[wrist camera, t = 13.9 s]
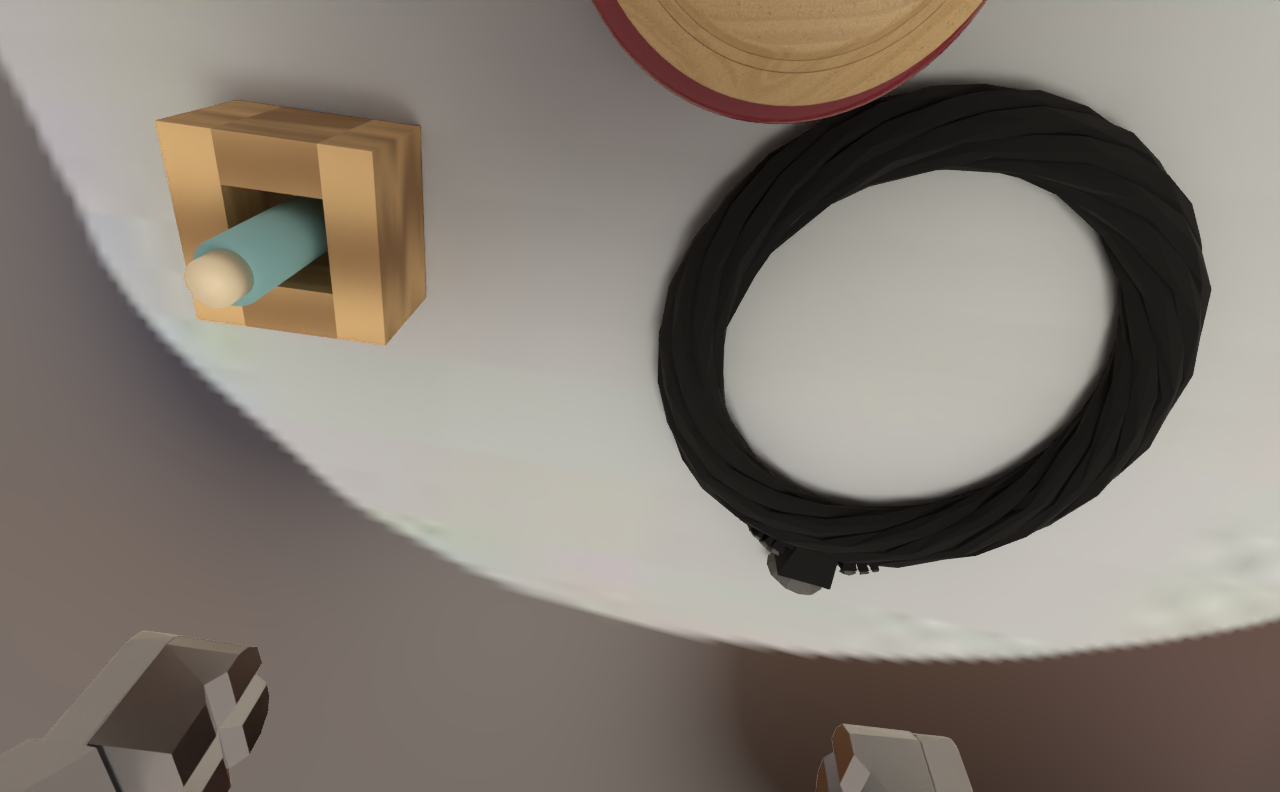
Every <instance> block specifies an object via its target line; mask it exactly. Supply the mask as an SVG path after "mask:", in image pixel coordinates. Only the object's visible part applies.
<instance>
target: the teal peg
mask: <svg viewBox="0 0 1280 792" xmlns="http://www.w3.org/2000/svg"><path fill="white" fill-rule="evenodd" d="M327 251H328V245H327V236H326V226H325V217H324V207H323V199H318V198H311V197H304V196H297V195H296V196H294V197H292V198H290V199H288V200H286V201H284V202H282V203H280V204H278V205H276V206H274V207H272V208H270V209H268V210H266V211H264V212H262V213H260V214H258V215H256V216H254V217H252V218H250V219H248V220H246V221H244V222H242V223H240V224H238V225H236V226H234V227H232V228H230V229H228V230H226V231H224V232H222V233H220V234H218V235H216V236H214V237H212V238H210V239H208V240H207V241H205V242H203V243H201V244H200V245H199V246H198V247H197V249H196V250H195V252H194V255H193V261H191V262H190V263H189V264H188V265H187V266H186V268H185V271H184V281H185V284H186V287H187V288H188V290H189V292H190V293H191V294H192V296H193V297H194V298H195V299H197V300H198V301H199V302H201V303H202V304H204V305H206V306H208V307H212V308H218V309H219V308H226V307H228V306H230V305H232V306H246V305H250V304H252V303H254V302H255V301H257V300H258V299H260V298H261V297H262V296H264V295H265V294H267V293H268V292H270V291H271V290H272V289H274V288H275V287H277V286H278V285H280V284H281V283H282V282H284V281H285V280H287V279H288V278H290V277H291V276H292V275H294V274H295V273H297V272H298V271H299V270H301V269H302V268H304V267H305V266H307V265H308V264H309V263H311V262H312V261H314V260H315V259H317V258H318V257H319V256H321V255H322V254H324V253H325V252H327Z"/></svg>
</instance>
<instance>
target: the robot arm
mask: <svg viewBox="0 0 1280 792" xmlns="http://www.w3.org/2000/svg"><path fill="white" fill-rule="evenodd" d="M261 664H262V661H261V657H260V654H259V651H258V648H257V647H252V646H246V645H239V644H233V643H226V642H219V641H213V640H206V639H199V638H192V637H186V636H182V635H174V634H167V633H160V632H152V631H144V630H143V631H141V632H140V633H138V634H136V635H135V636H133V637H132V638H130V639H129V640H127V641H126V643H125V644H124V645H123V646H122V647H121V648H120V650H119V651H118V652H117V653H116V654H115V655H114V656H113V658H112V659H111V660H110V661H109V662H108V663H107V665H106V666H105V667H104V668H103V669H102V670H101V672H100V673H99V674H98V675H97V676H96V677H95V678H94V680H93V681H92V682H91V683H90V684H89V685H88V686H87V688H86V689H85V690H84V691H83V692H82V693H81V695H80V696H79V697H78V698H77V699H76V700H75V701H74V703H73V704H72V705H71V706H70V707H69V708H68V710H67V711H66V712H65V713H64V714H63V715H62V716H61V718H60V719H59V720H58V721H57V722H56V723H55V725H54V726H53V727H52V728H51V729H50V730H49V732H48V733H47V734H46V735H45V736H44V737H43V738H42V739H31V738H29V739H28V740H26V741H24V742H22V743H21V744H19V745H17V746H15V747H13V748H12V749H10V750H8V751H6V752H4V753H3V754H1V755H0V792H228V791H229V789H230V787H231V783H230V774H229V768H231V767H232V766H233V765H235V764H236V763H238V762H239V761H240V760H242V759H243V758H245V757H246V756H248V755H249V754H250V753H251V751H252V749H253V747H254V745H255V743H256V741H257V740H258V738H259V736H260V734H261V732H262V729H263V726H264V723H265V720H266V717H267V714H268V707H269V692H268V687H267V684H266V683H265V682H264V681H263V680H262V679H261V678H260V677H259V676H258V675H256V672H257V670H258V669H259V667H260V666H261ZM832 743H833V749H834V752H833V753H831V754H829V755H828V756H826V757H824V758H823V760H822V763H821V766H820V769H819V771H818V777H817V785H816V792H973V790H972V787H971V784H970V782H969V779H968V776H967V773H966V771H965V768H964V765H963V762H962V759H961V757H960V754H959V751H958V748H957V746H956V745H955V744H954V742H953V741H952V740H951V739H950V738H947V737H941V736H932V735H924V734H914V733H910V732H909V731H900V730H892V729H883V728H874V727H866V726H858V725H849V724H841V725H840V726H838V727H837V728H836V730H835V732H834V735H833V737H832Z"/></svg>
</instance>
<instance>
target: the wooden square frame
mask: <svg viewBox="0 0 1280 792" xmlns="http://www.w3.org/2000/svg"><path fill="white" fill-rule="evenodd" d="M155 124H156V129H157V134H158V138H159V143H160V148H161V152H162V157H163V161H164V166H165V171H166V175H167V180H168V185H169V189H170V194H171V199H172V203H173V208H174V212H175V217H176V222H177V226H178V231H179V236H180V240H181V245H182V249H183V254H184V259H185V263H186V266H187V265H188V264H189V263H190V262H191V261H193V255H194V252H195V250H196V249H197V247H198V246H199V245H200V244H201V243H203V242H205V241H207V240H208V239H210V238H212V237H214V236H216V235H218V234H220V233H222V232H224V231H226V230H228V229H230V228H232V227H234V226H236V225H238V224H240V223H242V222H244V221H246V220H248V219H250V218H252V217H254V216H256V215H258V214H260V213H262V212H264V211H266V210H268V209H270V208H272V207H274V206H276V205H278V204H280V203H282V202H284V201H286V200H288V199H290V198H292V197H294V195H297V196H304V197H311V198H318V199H323V207H324V217H325V226H326V236H327V245H328V251H327V252H325V253H324V254H322V255H321V256H319V257H318V258H317V259H315V260H314V261H312V262H311V263H309V264H308V265H307V266H305V267H304V268H302V269H301V270H299V271H298V272H297V273H295V274H294V275H292V276H291V277H290V278H288V279H287V280H285V281H284V282H282V283H281V284H280V285H278V286H277V287H275V288H274V289H272V290H271V291H270V292H268V293H267V294H265V295H264V296H262V297H261V298H260V299H258V300H257V301H255V302H254V303H252V304H250V305H246V306H232V305H230V306H228V307H226V308H219V309H218V308H212V307H208V306H206V305H204V304H202V303H201V302H199V301H198V300H197V299H195V298H194V297H193V300H194V305H195V310H196V314H197V319H199V320H206V321H214V322H221V323H228V324H235V325H242V326H249V327H257V328H264V329H271V330H278V331H285V332H292V333H300V334H307V335H314V336H321V337H328V338H335V339H343V340H350V341H357V342H364V343H371V344H378V345H386V344H387V343H388V342H389V341H390V339H391V338H392V337H393V336H394V335H395V333H396V332H397V331H398V330H399V329H400V328H401V326H402V325H403V324H404V323H405V322H406V321H407V319H408V318H409V317H410V316H411V315H412V313H413V312H414V311H415V310H416V309H417V308H418V306H419V305H420V304H421V303H422V302H423V300H424V299H425V298H426V280H425V250H424V220H423V190H422V160H421V130H420V126H414V125H407V124H400V123H393V122H386V121H379V120H372V119H365V118H358V117H351V116H344V115H337V114H330V113H323V112H316V111H309V110H302V109H295V108H288V107H281V106H274V105H267V104H260V103H253V102H246V101H239V100H234V101H231V102H227V103H223V104H219V105H215V106H211V107H207V108H203V109H199V110H195V111H191V112H187V113H183V114H179V115H175V116H171V117H167V118H163V119H159V120H155Z"/></svg>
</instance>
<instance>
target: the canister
mask: <svg viewBox="0 0 1280 792" xmlns="http://www.w3.org/2000/svg"><path fill="white" fill-rule="evenodd" d="M986 1H987V0H592V2H593V4H594V5H595V7H596V9H597V11H598V13H599V14H600V16H601V18H602V20H603V21H604V23H605V24H606V26H607V27H608V29H609V30H610V32H611V33H612V35H613V36H614V38H615V39H616V40H617V41H618V43H619V44H620V45H621V47H622V48H623V49H624V50H625V51H626V53H627V54H628V55H629V56H630V57H631V58H632V59H633V60H634V62H635V63H636V64H638V65H639V66H640V67H641V68H642V69H643V70H644V71H645V72H646V73H647V74H648V75H649V76H651V77H652V78H653V79H654V80H655V81H657V82H658V83H659V84H660V85H662V86H663V87H665V88H666V89H668V90H669V91H670V92H672V93H673V94H675V95H677V96H678V97H680V98H682V99H684V100H685V101H687V102H689V103H691V104H693V105H695V106H698V107H700V108H702V109H704V110H707V111H710V112H712V113H715V114H718V115H721V116H725V117H728V118H732V119H736V120H742V121H747V122H755V123H765V124H787V123H800V122H807V121H814V120H819V119H823V118H827V117H832V116H835V115H838V114H841V113H844V112H848V111H850V110H853V109H855V108H858V107H860V106H863V105H865V104H867V103H869V102H871V101H873V100H876V99H878V98H880V97H882V96H883V95H885V94H887V93H888V92H890V91H892V90H894V89H895V88H897V87H899V86H900V85H902V84H903V83H905V82H906V81H908V80H909V79H911V78H912V77H913V76H915V75H916V74H917V73H919V72H920V71H921V70H922V69H924V68H925V67H926V66H928V65H929V64H930V63H931V62H932V61H933V60H934V59H935V58H937V57H938V56H939V55H940V54H941V53H942V52H943V51H944V50H945V49H946V48H947V47H948V46H949V45H950V44H951V43H952V42H953V41H954V40H955V39H956V38H957V37H958V36H959V35H960V34H961V33H962V31H963V30H964V29H965V28H966V27H967V26H968V25H969V23H970V22H971V21H972V20H973V18H974V17H975V16H976V15H977V13H978V12H979V11H980V9H981V8H982V7H983V5H984V4H985V3H986Z"/></svg>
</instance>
